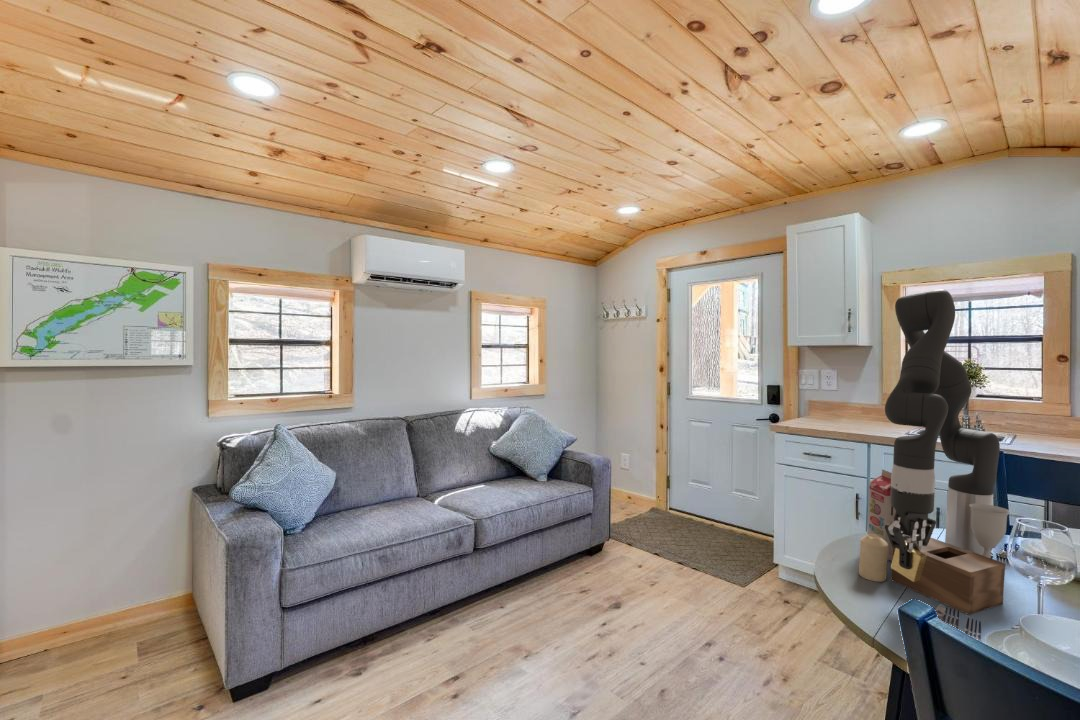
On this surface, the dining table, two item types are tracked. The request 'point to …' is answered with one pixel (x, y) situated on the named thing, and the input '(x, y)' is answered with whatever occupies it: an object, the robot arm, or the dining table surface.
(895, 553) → the brass token
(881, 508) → the juice carton
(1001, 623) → the dining table surface
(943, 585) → the box
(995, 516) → the chalice
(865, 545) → the candle
